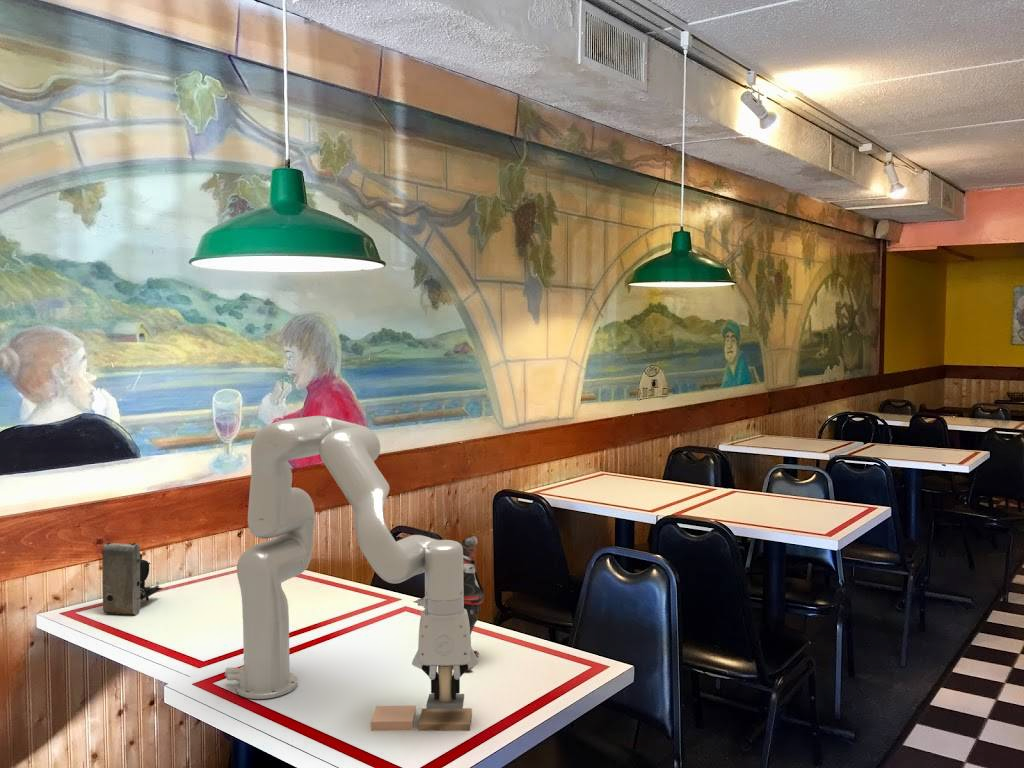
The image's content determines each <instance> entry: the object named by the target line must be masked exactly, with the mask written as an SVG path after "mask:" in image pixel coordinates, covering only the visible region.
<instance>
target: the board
mask: <svg viewBox="0 0 1024 768" xmlns="http://www.w3.org/2000/svg"><path fill="white" fill-rule="evenodd" d="M472 710H473V708H472V707H469V708H468V707H467V708H466V707H463V709H426V708H424V707H423V708H421V710H420V715H419V720H418V723H417V731H470V730H471V725H472V715H473V711H472Z"/></svg>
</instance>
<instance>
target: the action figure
mask: <svg viewBox="0 0 1024 768" xmlns="http://www.w3.org/2000/svg"><path fill="white" fill-rule="evenodd" d="M478 543H479V540H478V538H477V537H476V536H475V535H472V536H470V537H465V538H463V539H462V540H461V545H462V548H463V586H464V609H466V610H467V613H468V618H469V625H470V636H471V635H472V631H473V629H474V627H475V624H476V623H477V621H478V619H479V616H478V615H479V614H480V613H481V604H482V603H483V602H484V599H485V598H484V597H485V596H484V595H485V594H486V593H485V590H484V587H483V586H482V584H481V581H480V579H479V576H478V572H477V569H476V568H477V567H476V562H475V560H474V555H475V553H476V551H475V546H476V545H477V544H478ZM473 651H474V653H475V655H476V657H477V658H478V657H479V655H480V653H479V651H478V650H473ZM452 669H453V666H452ZM472 669H474V667H472V668H469V669H468V670H467V671H466V672H468V671H471V670H472Z"/></svg>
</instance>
